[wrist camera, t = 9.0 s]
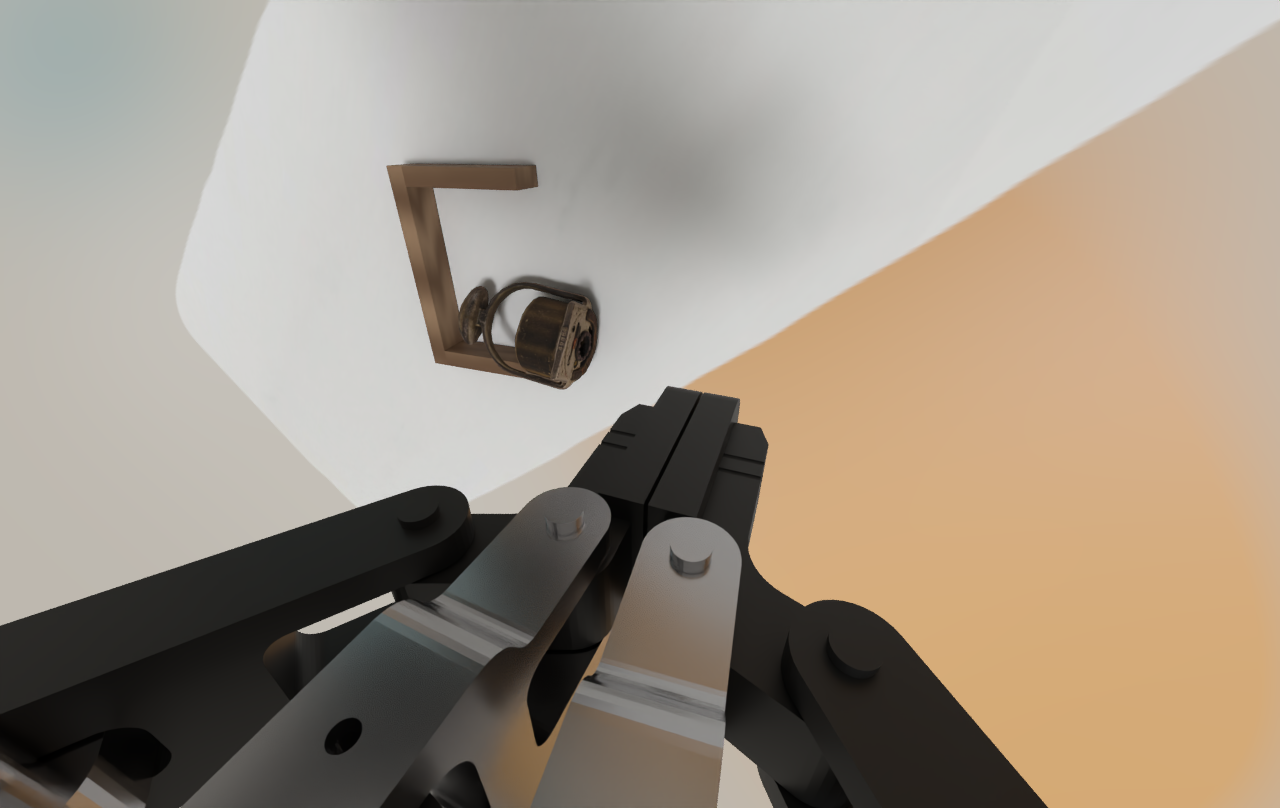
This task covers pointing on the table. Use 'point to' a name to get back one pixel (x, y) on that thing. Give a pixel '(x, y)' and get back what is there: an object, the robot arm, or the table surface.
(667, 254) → the table surface
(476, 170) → the bracket
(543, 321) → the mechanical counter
